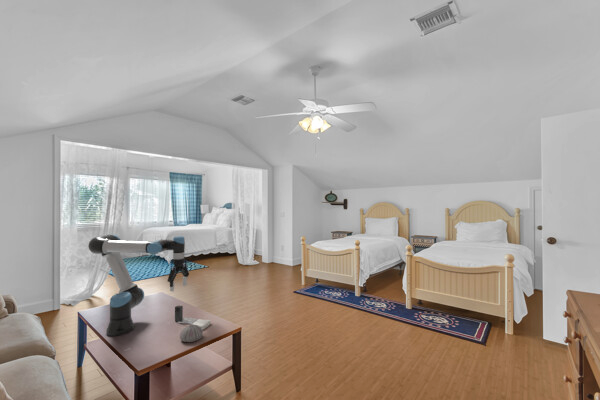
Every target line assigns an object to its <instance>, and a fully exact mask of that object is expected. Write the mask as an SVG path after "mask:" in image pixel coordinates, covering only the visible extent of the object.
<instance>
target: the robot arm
mask: <svg viewBox="0 0 600 400" xmlns="http://www.w3.org/2000/svg"><path fill="white" fill-rule="evenodd" d="M185 239H186V238H185V237H184V236H173V238H172V239H157V240H155V241H142V240H141V241H137V240H136V241H135V240H128V241H127V240H121V238H120V237H119V236H118V235H116V234H106V235H99V236H95V237H93V238H92V239H90V241H89V242H88V249H89V251H90V252H91V253H93V254H98V255H100V254H101V257H102V258H103V259H106V261H107V263H108V266H109V268H110V271H111V272H112V275H113V277H114V280H115V281H116V284H117V286H118V288H119V291H118V293H115V294H114V295H112V296H111V297H110V299H109V322H108V324H107V328H106V332H105V333H106V335H107V336H108V337H109V336H110V337H115V336H122V335H125V334H128V333H131V332H132V331H133V330H134V329H135V324H134V321H133V318H132V309H134V308H135V307H136V306H139V305H140V304H141V303H142V302H143V300H144V298H145V292H144V290H143V289H142V288H141V287H138V284H137V283H134V282H133V279H132V277H131V275H130V272H129V270H128V268H127V265H126V263H125V262H124V259H123V257H122V254H121V253H127V254H128V253H130V254H131V253H135V254H137V253H139V254H150V255H157V254H160V253H161V252H165V251H172V258H173V259H172V264H173V265H174V266H171V267H170V272H169V275H168V278H167V282H168V283H169V287H170V288H169V291H170V292H175V279H176V277H177V276H178V275H177V274H179V273H181V274H182V275H183V276H182V286H183V287H184V286H185V287H187V285H188V284H187V283H188V277H189V275H190V272H189V270H188V267H187V263H185V248H186V247H185V245H186V241H185Z"/></svg>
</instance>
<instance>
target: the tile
mask: <svg viewBox="0 0 600 400" xmlns="http://www.w3.org/2000/svg"><path fill="white" fill-rule="evenodd" d="M197 319H198V318H197ZM190 325H192V324H190ZM193 325H198V326H199V327H200V328H201V329H202V331H204V330H205V329H206V328H207V327H208V326H210V325H211V319H201V318H200V319H198V320H197V321H196V322H194V323H193Z"/></svg>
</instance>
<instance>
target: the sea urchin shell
mask: <svg viewBox="0 0 600 400" xmlns="http://www.w3.org/2000/svg"><path fill="white" fill-rule="evenodd" d="M203 334H204V330H202V329H201V328H200V327H199V326H198V325H193V324H192V325H191V324H188V325H187V326H185V327H184V328H182V329H181V331H180V333H179V339H180V341H181V342H183V343H194V342H197V341H198V340H200V339H202V337H203Z"/></svg>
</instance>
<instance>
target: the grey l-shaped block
mask: <svg viewBox="0 0 600 400" xmlns="http://www.w3.org/2000/svg"><path fill="white" fill-rule="evenodd" d="M183 307H184V306H183V305H175V306H174V322H176V323H178V324H185V325H191V324H193V323H194V322H196V321H197V320H198V318H193V317H183V314H184V313H183V311H184V310H183V309H184V308H183Z"/></svg>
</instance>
